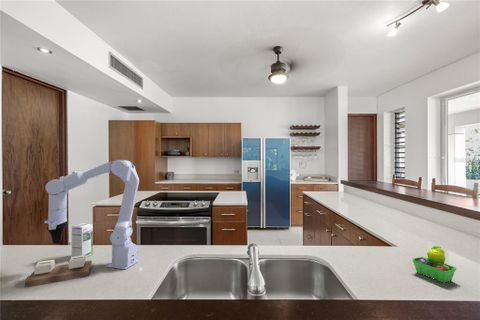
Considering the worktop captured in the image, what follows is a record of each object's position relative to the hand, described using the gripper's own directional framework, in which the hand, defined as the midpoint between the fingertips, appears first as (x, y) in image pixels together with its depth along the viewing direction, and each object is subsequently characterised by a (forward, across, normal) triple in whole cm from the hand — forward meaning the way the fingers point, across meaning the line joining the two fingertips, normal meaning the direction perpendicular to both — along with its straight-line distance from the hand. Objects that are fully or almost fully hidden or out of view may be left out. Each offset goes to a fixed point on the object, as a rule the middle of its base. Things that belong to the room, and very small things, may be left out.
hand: (57, 242), depth 90 cm
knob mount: (+10, +7, +3) cm, 13 cm away
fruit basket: (+11, +70, +132) cm, 150 cm away
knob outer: (+8, +7, -2) cm, 11 cm away
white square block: (+8, +7, +8) cm, 13 cm away
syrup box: (+11, -10, +7) cm, 16 cm away
